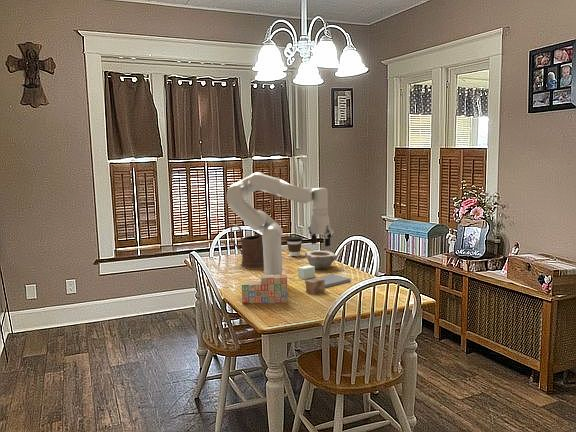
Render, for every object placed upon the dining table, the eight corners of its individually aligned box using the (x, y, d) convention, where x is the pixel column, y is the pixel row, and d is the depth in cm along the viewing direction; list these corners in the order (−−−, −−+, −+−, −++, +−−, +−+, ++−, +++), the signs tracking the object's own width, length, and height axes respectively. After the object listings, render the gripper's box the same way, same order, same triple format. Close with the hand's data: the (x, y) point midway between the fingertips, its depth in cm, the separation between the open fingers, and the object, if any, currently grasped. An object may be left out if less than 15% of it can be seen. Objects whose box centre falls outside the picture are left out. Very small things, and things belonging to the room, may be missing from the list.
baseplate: (323, 288, 267) (323, 285, 267) (305, 283, 278) (305, 280, 278) (350, 281, 280) (350, 278, 279) (332, 276, 290) (332, 274, 290)
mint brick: (304, 279, 286) (303, 268, 285) (298, 278, 290) (298, 267, 289) (315, 277, 291) (314, 266, 290) (309, 275, 295) (308, 265, 294)
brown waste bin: (267, 268, 314) (265, 227, 311) (228, 268, 318) (226, 227, 315) (272, 262, 332) (271, 223, 329) (235, 261, 336) (234, 223, 333)
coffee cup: (295, 253, 357) (295, 236, 356) (306, 255, 349) (305, 237, 347) (283, 255, 350) (282, 238, 349) (293, 258, 342) (293, 240, 340)
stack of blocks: (242, 304, 243) (241, 278, 242) (243, 300, 250) (242, 275, 248) (287, 303, 244) (287, 277, 242) (287, 299, 250) (287, 274, 248)
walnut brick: (312, 294, 257) (312, 282, 256) (306, 292, 261) (305, 280, 260) (324, 291, 262) (324, 279, 261) (318, 289, 266) (317, 277, 265)
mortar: (338, 270, 306) (338, 254, 305) (310, 272, 302) (310, 256, 301) (330, 264, 322) (330, 249, 321) (303, 266, 319) (303, 251, 317)
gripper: (303, 211, 271) (303, 243, 274) (327, 214, 259) (328, 248, 261) (313, 210, 276) (314, 241, 279) (337, 212, 264) (338, 245, 266)
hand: (320, 244), depth 270 cm, fingers open, 9 cm apart
